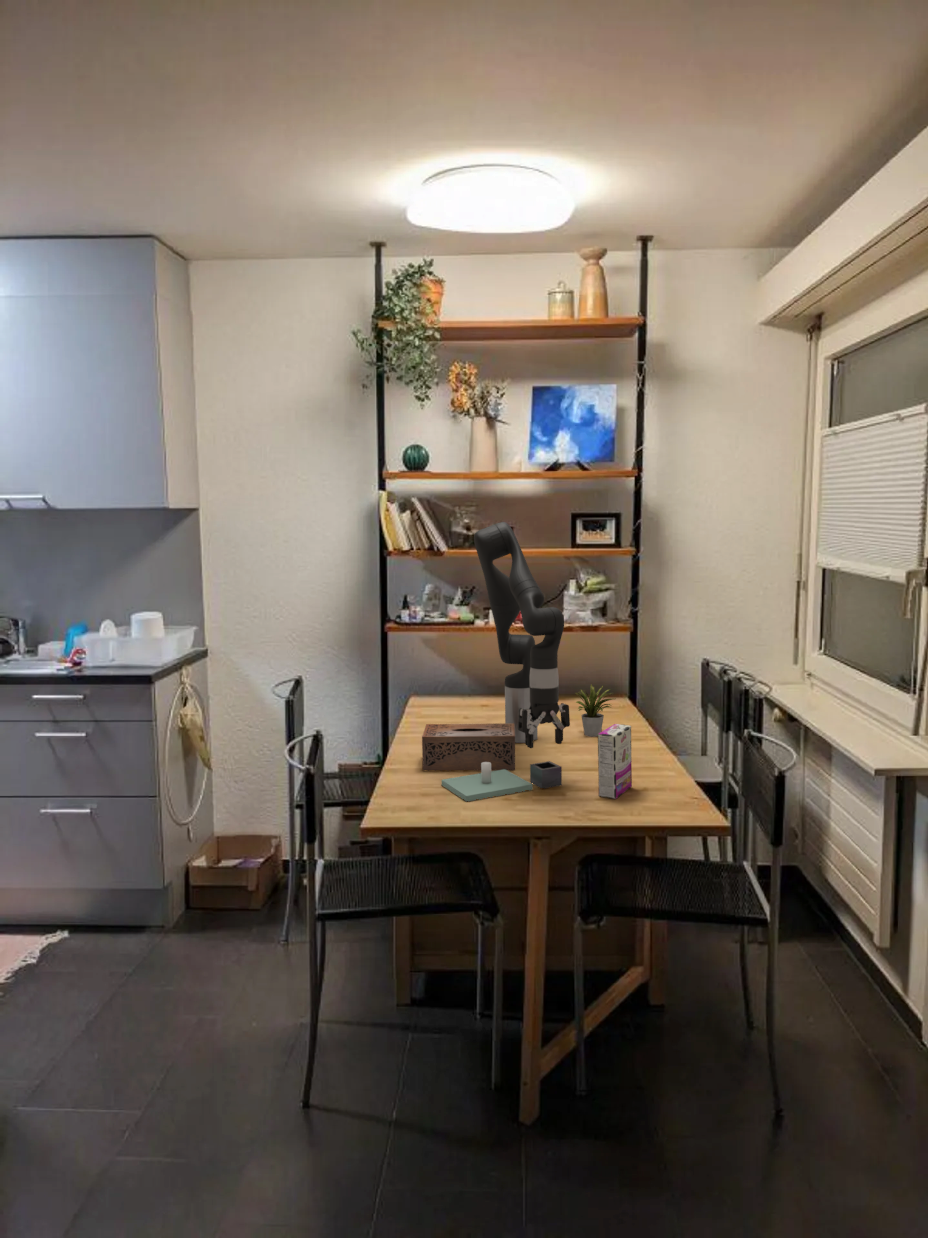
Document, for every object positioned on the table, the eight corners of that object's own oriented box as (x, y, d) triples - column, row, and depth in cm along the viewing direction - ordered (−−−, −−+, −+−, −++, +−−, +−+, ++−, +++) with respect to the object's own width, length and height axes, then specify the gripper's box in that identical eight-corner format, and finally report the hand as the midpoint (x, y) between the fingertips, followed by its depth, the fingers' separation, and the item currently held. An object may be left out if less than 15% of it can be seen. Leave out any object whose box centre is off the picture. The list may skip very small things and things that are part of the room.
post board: (504, 774, 239) (504, 751, 238) (532, 789, 226) (532, 765, 225) (441, 785, 231) (441, 761, 230) (466, 801, 218) (465, 776, 217)
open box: (549, 779, 234) (549, 761, 234) (561, 785, 229) (561, 766, 228) (530, 782, 232) (530, 764, 231) (541, 789, 226) (541, 770, 226)
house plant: (593, 744, 268) (593, 691, 266) (560, 735, 278) (559, 685, 276) (622, 735, 277) (623, 684, 275) (589, 727, 288) (589, 679, 286)
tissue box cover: (422, 771, 244) (422, 736, 243) (427, 757, 258) (426, 724, 257) (515, 771, 243) (514, 736, 242) (514, 756, 257) (514, 723, 256)
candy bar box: (614, 784, 229) (614, 723, 227) (632, 787, 226) (632, 725, 224) (596, 796, 220) (596, 732, 218) (615, 799, 217) (615, 735, 215)
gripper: (559, 679, 233) (560, 739, 235) (512, 684, 227) (513, 745, 229) (575, 684, 227) (575, 745, 228) (527, 689, 221) (527, 752, 222)
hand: (544, 745), depth 229 cm, fingers open, 8 cm apart
